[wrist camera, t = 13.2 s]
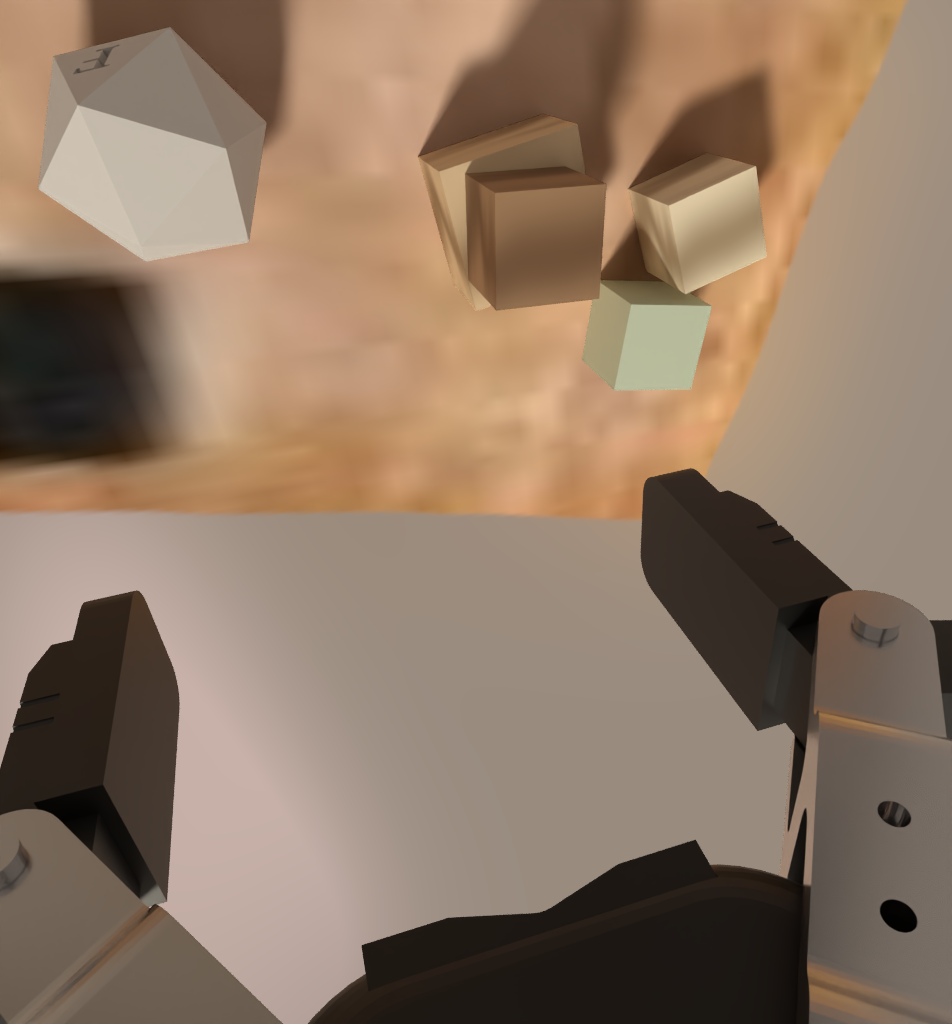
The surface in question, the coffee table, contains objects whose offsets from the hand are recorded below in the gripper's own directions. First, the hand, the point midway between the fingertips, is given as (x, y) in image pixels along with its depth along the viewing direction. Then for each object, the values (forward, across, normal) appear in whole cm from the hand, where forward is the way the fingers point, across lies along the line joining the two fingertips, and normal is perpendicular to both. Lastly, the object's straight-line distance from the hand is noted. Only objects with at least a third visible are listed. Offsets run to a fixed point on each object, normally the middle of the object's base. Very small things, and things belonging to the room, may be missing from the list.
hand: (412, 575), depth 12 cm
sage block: (+33, -19, +10) cm, 40 cm away
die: (+33, +5, -3) cm, 34 cm away
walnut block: (+28, -11, +2) cm, 30 cm away
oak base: (+33, -11, +2) cm, 35 cm away
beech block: (+33, -22, +4) cm, 40 cm away
